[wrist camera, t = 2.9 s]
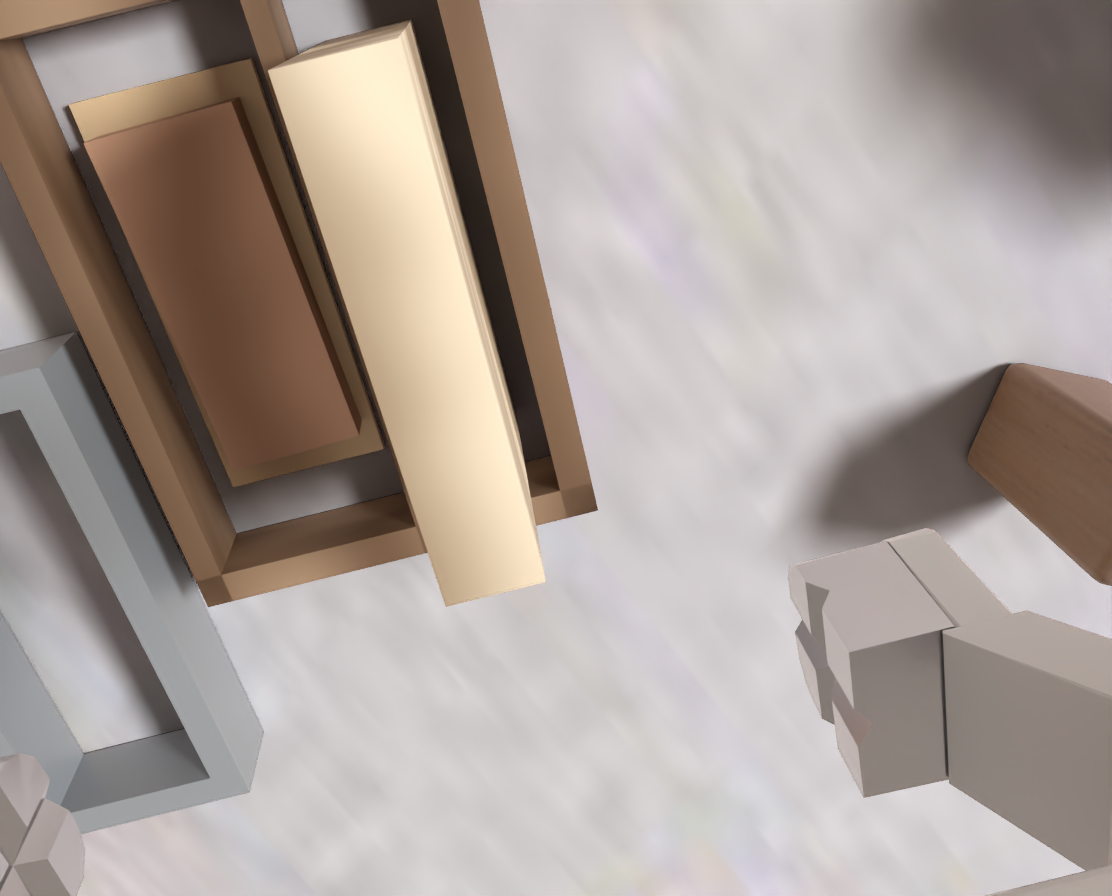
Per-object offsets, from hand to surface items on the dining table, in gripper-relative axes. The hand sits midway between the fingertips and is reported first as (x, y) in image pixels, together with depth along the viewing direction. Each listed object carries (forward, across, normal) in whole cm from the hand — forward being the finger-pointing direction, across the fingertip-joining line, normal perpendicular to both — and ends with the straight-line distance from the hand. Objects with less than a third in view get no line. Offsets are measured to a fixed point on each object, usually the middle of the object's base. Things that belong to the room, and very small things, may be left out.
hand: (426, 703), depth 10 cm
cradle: (+21, +15, +8) cm, 27 cm away
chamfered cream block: (+21, 0, 0) cm, 21 cm away
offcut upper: (+20, +6, 0) cm, 21 cm away
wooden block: (+21, -18, +11) cm, 30 cm away
